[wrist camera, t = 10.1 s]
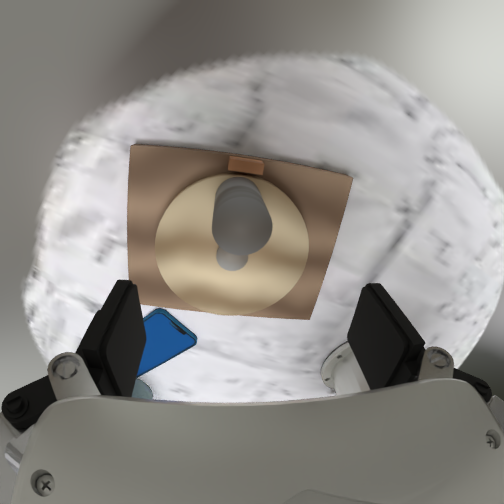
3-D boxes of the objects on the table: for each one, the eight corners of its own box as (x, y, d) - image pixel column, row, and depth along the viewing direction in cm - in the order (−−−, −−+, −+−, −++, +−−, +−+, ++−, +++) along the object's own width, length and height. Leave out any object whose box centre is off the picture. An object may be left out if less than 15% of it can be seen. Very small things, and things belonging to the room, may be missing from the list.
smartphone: (98, 353, 37) (159, 308, 33) (100, 348, 38) (160, 304, 34) (134, 379, 40) (200, 342, 36) (135, 374, 41) (200, 337, 37)
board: (306, 312, 36) (313, 330, 33) (133, 295, 33) (126, 313, 30) (347, 175, 28) (361, 182, 25) (135, 144, 25) (123, 148, 22)
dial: (290, 307, 33) (307, 362, 26) (161, 301, 31) (146, 357, 24) (316, 181, 27) (353, 211, 19) (159, 167, 25) (130, 192, 17)
